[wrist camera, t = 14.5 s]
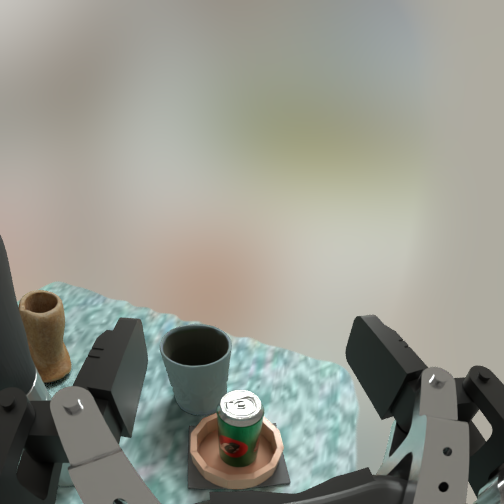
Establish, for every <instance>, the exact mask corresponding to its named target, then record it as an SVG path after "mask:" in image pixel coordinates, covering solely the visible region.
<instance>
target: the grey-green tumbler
mask: <svg viewBox="0 0 504 504" xmlns="http://www.w3.org/2000/svg"><path fill="white" fill-rule="evenodd" d="M231 348H232V343H231V340H230V338H229V336H228V335H227V334H226V333H225V332H224V331H222V330H220V329H218V328H216V327H214V326H210V325H205V324H190V325H183V326H179V327H176V328H174V329H172V330H170V331H169V332H167V333H166V334H165V335H164V336H163V338H162V340H161V342H160V352H161V355H162V358H163V361H164V365H165V367H166V371H167V373H168V377H169V381H170V384H171V386H172V387H173V392H174V396H175V399H176V402H177V404H178V405H179V406H180V407H181V409H183V410H184V411H186V412H188V413H190V414H194V415H209V414H212V413H215V412H216V411H217V406H218V404H219V402H220V401H221V399H222V397H223V396H224V395H225V394H227V383H226V382H227V381H228V369H229V363H230V355H231Z"/></svg>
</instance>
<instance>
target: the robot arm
mask: <svg viewBox="0 0 504 504" xmlns="http://www.w3.org/2000/svg"><path fill="white" fill-rule="evenodd" d="M346 359H347V362H348V364H349V365H350V367H351V369H352V370H353V372H354V374H355V375H356V377H357V379H358V380H359V382H360V384H361V385H362V387H363V389H364V390H365V392H366V394H367V396H368V397H369V399H370V400H371V402H372V404H373V406H374V408H375V409H376V411H377V413H378V414H379V416H380V418H381V419H382V420H383V419H386V418H389V417H392V416H394V418H395V421H394V422H393V424H392V427H391V432H390V436H389V440H388V444H387V449H386V452H385V456H384V459H383V463H382V465H381V467H380V469H379V470H378V472H377V473H376V475H372V474H371V472H370V470H369V468H368V467H367V468H365V469H361V470H358V471H354V472H351V473H347V474H344V475H340V476H336V477H333V478H331V479H329V480H327V481H325V482H323V483H321V484H319V485H317V486H315V487H312V488H310V489H308V490H306V491H303V492H301V493H297V494H288V493H272V492H262V491H253V490H252V491H235V492H210V500H207V501H202V502H198V503H195V504H466V496H467V487H468V482H469V483H470V485H471V487H472V489H473V491H474V493H475V495H476V496H477V500H476V501H475V502H474V503H473V504H504V385H503V384H502V382H501V381H500V380H499V379H498V378H497V377H496V376H495V375H494V374H493V373H492V372H491V371H490V370H489V369H487V368H485V367H483V366H473V367H472V368H471V369H470V371H469V372H468V374H467V376H466V377H465V378H453V376H452V375H451V374H450V373H449V372H447V371H446V370H444V369H442V368H438V367H430V368H428V367H427V366H426V365H425V364H424V362H423V361H422V360H421V359H420V358H419V357H418V356H417V355H416V353H415V352H414V351H413V350H412V349H411V348H410V347H408V344H407V343H406V342H405V341H403V339H402V338H401V337H400V336H399V335H398V334H397V333H396V331H394V330H392V329H391V328H389V327H387V326H386V325H384V324H383V323H382V322H381V321H380V319H379V318H378V317H377V316H376V315H366V316H357V317H356V318H355V320H354V323H353V326H352V329H351V333H350V336H349V340H348V343H347V347H346ZM147 364H148V355H147V349H146V344H145V338H144V332H143V326H142V322H141V320H140V319H134V318H119V320H118V322H117V324H116V326H115V328H114V330H113V331H112V330H106V331H105V332H104V333H102V334H101V335H100V336H99V337H98V338H97V339H96V341H95V343H94V345H93V346H92V349H91V350H90V352H89V354H88V357H87V358H86V360H85V362H84V364H83V366H82V368H81V370H80V372H79V374H78V376H77V378H76V380H75V382H74V384H73V386H70V387H65V388H63V389H61V390H59V391H58V392H56V393H55V395H54V396H53V397H52V398H51V396H50V394H49V392H48V390H47V388H46V387H45V385H44V383H43V381H42V379H41V377H40V375H39V373H38V371H37V369H36V367H35V364H34V362H33V360H32V357H31V354H30V350H29V345H28V341H27V336H26V332H25V328H24V325H23V322H22V319H21V315H20V312H19V308H18V304H17V301H16V296H15V292H14V287H13V282H12V277H11V272H10V267H9V262H8V257H7V253H6V250H5V246H4V243H3V240H2V238H1V235H0V504H55V500H56V494H57V489H58V486H63V487H69V486H73V485H74V486H75V488H76V490H77V492H78V494H79V496H80V498H81V500H82V502H83V503H84V504H161V503H160V502H159V501H158V500H157V498H156V497H155V496H154V495H153V493H152V492H151V491H150V489H149V488H148V487H147V486H146V484H145V483H144V482H143V480H142V479H141V477H140V476H139V475H138V473H137V472H136V470H135V469H134V467H133V466H132V464H131V463H130V461H129V460H128V458H127V457H126V455H125V454H124V452H123V451H122V449H121V448H120V446H119V441H120V437H121V436H123V437H129V438H131V437H132V431H133V427H134V422H135V417H136V412H137V408H138V403H139V399H140V395H141V391H142V386H143V382H144V378H145V374H146V370H147ZM479 409H480V410H481V412H482V413H483V414H484V416H485V417H486V419H487V420H488V421H489V423H490V424H491V426H492V429H493V431H492V435H491V437H490V438H489V439H488V440H487V442H486V441H485V439H484V438H483V437H482V435H481V434H480V432H479V431H478V429H477V428H476V426H475V425H474V423H473V422H472V418H473V417H474V416H475V414H476V413H477V412H478V410H479ZM21 455H22V456H21ZM20 457H21V459H20ZM19 460H20V463H19ZM18 464H19V466H18ZM17 467H18V469H17ZM16 472H17V473H16Z"/></svg>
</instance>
